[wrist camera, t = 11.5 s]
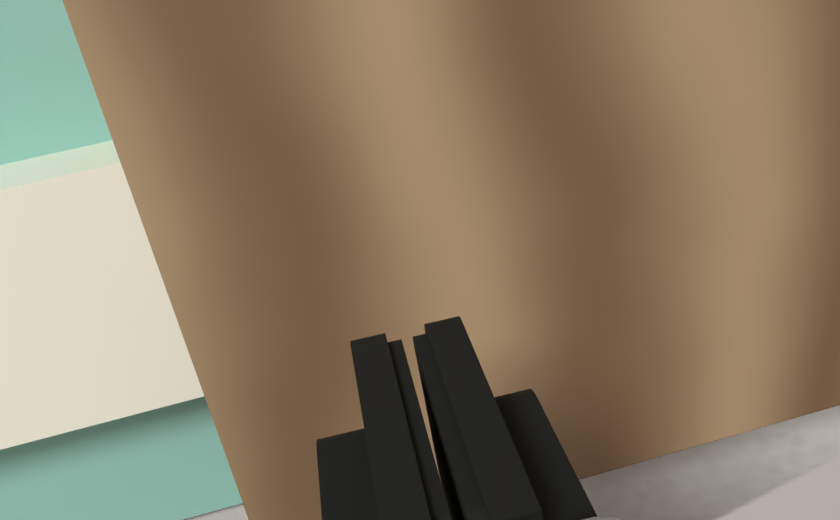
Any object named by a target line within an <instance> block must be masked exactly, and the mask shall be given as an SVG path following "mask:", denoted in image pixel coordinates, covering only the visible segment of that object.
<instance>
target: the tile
mask: <svg viewBox="0 0 840 520" xmlns="http://www.w3.org/2000/svg"><path fill="white" fill-rule="evenodd" d="M203 396H204V394H203V391H202V388H201V385H200V382H199V380H198V377H197V374H196V371H195V369H194V366H193V363H192V360H191V357H190V355H189V352H188V349H187V346H186V343H185V341H184V338H183V335H182V332H181V330H180V327H179V324H178V321H177V318H176V316H175V313H174V310H173V307H172V304H171V302H170V299H169V296H168V293H167V291H166V288H165V285H164V282H163V279H162V277H161V274H160V271H159V268H158V265H157V263H156V260H155V257H154V254H153V252H152V249H151V246H150V243H149V240H148V238H147V235H146V232H145V229H144V226H143V224H142V221H141V218H140V215H139V213H138V210H137V207H136V204H135V201H134V199H133V196H132V193H131V190H130V187H129V185H128V182H127V179H126V176H125V174H124V171H123V168H122V165H121V162H120V160H119V157H118V154H117V151H116V148H115V146H114V143H113V140H111V141H107V142H102V143H98V144H93V145H89V146H84V147H80V148H75V149H71V150H66V151H62V152H57V153H53V154H48V155H44V156H39V157H35V158H30V159H26V160H21V161H17V162H12V163H8V164H3V165H0V450H1V449H5V448H9V447H13V446H17V445H20V444H24V443H28V442H32V441H36V440H40V439H43V438H47V437H51V436H55V435H59V434H62V433H66V432H70V431H74V430H78V429H81V428H85V427H89V426H93V425H97V424H100V423H104V422H108V421H112V420H116V419H120V418H123V417H127V416H131V415H135V414H139V413H142V412H146V411H150V410H154V409H158V408H161V407H165V406H169V405H173V404H177V403H180V402H184V401H188V400H192V399H196V398H200V397H203Z"/></svg>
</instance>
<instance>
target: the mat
mask: <svg viewBox="0 0 840 520" xmlns="http://www.w3.org/2000/svg"><path fill="white" fill-rule="evenodd" d="M111 140H112V137H111V135H110V132H109V129H108V126H107V123H106V121H105V118H104V115H103V112H102V109H101V107H100V104H99V101H98V98H97V96H96V93H95V90H94V87H93V84H92V82H91V79H90V76H89V73H88V71H87V68H86V65H85V62H84V59H83V57H82V54H81V51H80V48H79V45H78V43H77V40H76V37H75V34H74V32H73V29H72V26H71V23H70V20H69V18H68V15H67V12H66V9H65V6H64V4H63V1H62V0H0V165H3V164H8V163H12V162H17V161H21V160H26V159H30V158H35V157H39V156H44V155H48V154H53V153H57V152H62V151H66V150H71V149H75V148H80V147H84V146H89V145H93V144H98V143H102V142H107V141H111ZM242 503H243V502H242V499H241V497H240V494H239V491H238V488H237V486H236V483H235V480H234V477H233V474H232V472H231V469H230V466H229V463H228V460H227V458H226V455H225V452H224V449H223V447H222V444H221V441H220V438H219V435H218V433H217V430H216V427H215V424H214V421H213V419H212V416H211V413H210V410H209V408H208V405H207V402H206V399H205V396H203V397H200V398H196V399H192V400H188V401H184V402H180V403H177V404H173V405H169V406H165V407H161V408H158V409H154V410H150V411H146V412H142V413H139V414H135V415H131V416H127V417H123V418H120V419H116V420H112V421H108V422H104V423H100V424H97V425H93V426H89V427H85V428H81V429H78V430H74V431H70V432H66V433H62V434H59V435H55V436H51V437H47V438H43V439H40V440H36V441H32V442H28V443H24V444H20V445H17V446H13V447H9V448H5V449H1V450H0V520H183V519H187V518H191V517H194V516H198V515H202V514H205V513H209V512H212V511H216V510H220V509H223V508H227V507H231V506H234V505H238V504H242Z"/></svg>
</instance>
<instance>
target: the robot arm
mask: <svg viewBox="0 0 840 520" xmlns="http://www.w3.org/2000/svg"><path fill="white" fill-rule="evenodd" d="M424 328H425V334H422V335H417V336H413V343H414V349H415V354H416V359H417V364H418V369H419V374H420V379H421V384H422V389H423V395H424V400H425V405H426V410H427V415H428V420H429V425H430V430H431V435H432V441H433V446H434V451H435V456H436V461H437V466H438V470H437V466H436V462H435V459H434V455H433V452H432V448H431V444H430V441H429V437H428V434H427V430H426V426H425V423H424V419H423V415H422V412H421V408H420V405H419V401H418V397H417V394H416V390H415V386H414V383H413V379H412V376H411V372H410V368H409V365H408V361H407V357H406V354H405V350H404V347H403V343H402V340H401V339H400V340H396V341H391V342H387V338H386V334H385V333H383V334H379V335H374V336H370V337H366V338H361V339H357V340H352V341H350V345H351V351H352V357H353V363H354V369H355V376H356V382H357V388H358V394H359V400H360V406H361V412H362V418H363V424H364V428H363V429H359V430H355V431H351V432H346V433H342V434H338V435H334V436H330V437H325V438H321V439H317V442H316V445H317V462H318V475H319V488H320V501H321V514H322V520H622V519H618V518H614V517H597V515H596V513H595V511H594V509H593V507H592V505H591V503H590V501H589V499H588V497H587V495H586V493H585V491H584V489H583V487H582V485H581V483H580V481H579V479H578V477H577V475H576V473H575V471H574V469H573V467H572V465H571V463H570V461H569V459H568V457H567V455H566V453H565V451H564V449H563V448H562V446H561V444H560V442H559V440H558V438H557V436H556V434H555V432H554V430H553V428H552V426H551V424H550V422H549V420H548V418H547V416H546V414H545V412H544V410H543V408H542V406H541V404H540V402H539V400H538V398H537V396H536V395H535V393H534V391H533V390H531V389H527V390H523V391H518V392H514V393H510V394H506V395H502V396H497V397H494V395H493V393H492V391H491V388H490V386H489V384H488V381H487V379H486V377H485V374H484V372H483V369H482V367H481V365H480V362H479V360H478V358H477V355H476V353H475V350H474V348H473V346H472V343H471V341H470V339H469V336H468V334H467V332H466V329H465V327H464V324H463V322H462V320H461V318H460V317H459V316H457V317H453V318H448V319H444V320H440V321H435V322H431V323H427V324H424ZM438 471H439V473H438ZM439 476H440V477H439ZM440 480H441V481H440Z"/></svg>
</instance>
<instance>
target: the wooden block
mask: <svg viewBox="0 0 840 520" xmlns="http://www.w3.org/2000/svg"><path fill="white" fill-rule="evenodd" d="M62 1H63V4H64V6H65V9H66V12H67V15H68V18H69V20H70V23H71V26H72V29H73V32H74V34H75V37H76V40H77V43H78V45H79V48H80V51H81V54H82V57H83V59H84V62H85V65H86V68H87V71H88V73H89V76H90V79H91V82H92V84H93V87H94V90H95V93H96V96H97V98H98V101H99V104H100V107H101V109H102V112H103V115H104V118H105V121H106V123H107V126H108V129H109V132H110V135H111V137H112V140H113V143H114V146H115V148H116V151H117V154H118V157H119V160H120V162H121V165H122V168H123V171H124V174H125V176H126V179H127V182H128V185H129V187H130V190H131V193H132V196H133V199H134V201H135V204H136V207H137V210H138V213H139V215H140V218H141V221H142V224H143V226H144V229H145V232H146V235H147V238H148V240H149V243H150V246H151V249H152V252H153V254H154V257H155V260H156V263H157V265H158V268H159V271H160V274H161V277H162V279H163V282H164V285H165V288H166V291H167V293H168V296H169V299H170V302H171V304H172V307H173V310H174V313H175V316H176V318H177V321H178V324H179V327H180V330H181V332H182V335H183V338H184V341H185V343H186V346H187V349H188V352H189V355H190V357H191V360H192V363H193V366H194V369H195V371H196V374H197V377H198V380H199V382H200V385H201V388H202V391H203V394H204V396H205V399H206V402H207V405H208V408H209V410H210V413H211V416H212V419H213V421H214V424H215V427H216V430H217V433H218V435H219V438H220V441H221V444H222V447H223V449H224V452H225V455H226V458H227V460H228V463H229V466H230V469H231V472H232V474H233V477H234V480H235V483H236V486H237V488H238V491H239V494H240V497H241V499H242V502H243V505H244V508H245V511H246V513H247V516H248V519H249V520H322V514H321V501H320V488H319V475H318V462H317V445H316V442H317V439H321V438H325V437H330V436H334V435H338V434H342V433H346V432H351V431H355V430H359V429H363V428H364V424H363V418H362V412H361V406H360V400H359V394H358V388H357V382H356V376H355V369H354V363H353V357H352V351H351V345H350V341H352V340H357V339H361V338H366V337H370V336H374V335H379V334H383V333H385V334H386V338H387V342H391V341H396V340H400V339H401V340H402V343H403V347H404V350H405V354H406V357H407V361H408V365H409V368H410V372H411V376H412V379H413V383H414V386H415V390H416V394H417V397H418V401H419V405H420V408H421V412H422V415H423V419H424V423H425V426H426V430H427V434H428V437H429V441H430V444H431V448H432V452H433V455H434V459H435V462H436V466H437V461H436V456H435V451H434V446H433V441H432V435H431V430H430V425H429V420H428V415H427V410H426V405H425V400H424V395H423V389H422V384H421V379H420V374H419V369H418V364H417V359H416V354H415V349H414V343H413V336H417V335H422V334H425V328H424V324H427V323H431V322H435V321H440V320H444V319H448V318H453V317H457V316H459V317H460V318H461V320H462V322H463V324H464V327H465V329H466V332H467V334H468V336H469V339H470V341H471V343H472V346H473V348H474V350H475V353H476V355H477V358H478V360H479V362H480V365H481V367H482V369H483V372H484V374H485V377H486V379H487V381H488V384H489V386H490V388H491V391H492V393H493V395H494V397H497V396H502V395H506V394H510V393H514V392H518V391H523V390H527V389H531V390H533V391H534V393H535V395H536V396H537V398H538V400H539V402H540V404H541V406H542V408H543V410H544V412H545V414H546V416H547V418H548V420H549V422H550V424H551V426H552V428H553V430H554V432H555V434H556V436H557V438H558V440H559V442H560V444H561V446H562V448H563V449H564V451H565V453H566V455H567V457H568V459H569V461H570V463H571V465H572V467H573V469H574V471H575V473H576V475H577V477H578V479H583V478H586V477H590V476H593V475H597V474H600V473H604V472H607V471H611V470H614V469H618V468H621V467H625V466H628V465H632V464H635V463H639V462H642V461H646V460H649V459H653V458H656V457H660V456H663V455H667V454H670V453H674V452H677V451H681V450H684V449H688V448H691V447H695V446H698V445H702V444H705V443H709V442H712V441H716V440H719V439H723V438H726V437H730V436H733V435H737V434H740V433H743V432H747V431H750V430H754V429H757V428H761V427H764V426H768V425H771V424H775V423H778V422H782V421H785V420H789V419H792V418H796V417H799V416H803V415H806V414H810V413H813V412H817V411H820V410H824V409H827V408H831V407H834V406H838V405H840V0H62ZM437 470H438V466H437ZM438 473H439V471H438ZM439 477H440V476H439ZM440 481H441V480H440Z"/></svg>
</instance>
